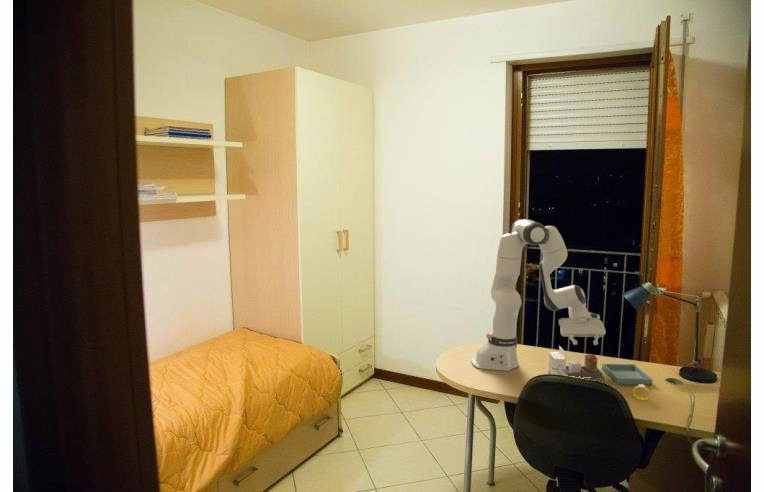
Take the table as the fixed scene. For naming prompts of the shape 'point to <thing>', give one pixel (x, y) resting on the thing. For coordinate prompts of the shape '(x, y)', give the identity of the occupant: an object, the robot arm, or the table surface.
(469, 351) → the table surface
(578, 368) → the pale grey fuse
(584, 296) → the robot arm
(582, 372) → the fuse rack
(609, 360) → the table surface
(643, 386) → the gold ring
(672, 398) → the table surface
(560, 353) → the ink cartridge box
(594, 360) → the cylinder
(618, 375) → the slate-green tray
